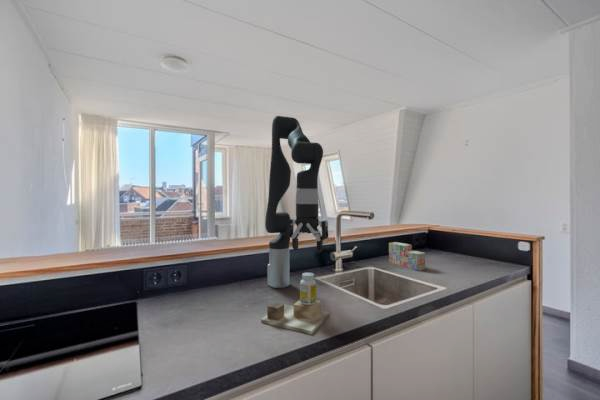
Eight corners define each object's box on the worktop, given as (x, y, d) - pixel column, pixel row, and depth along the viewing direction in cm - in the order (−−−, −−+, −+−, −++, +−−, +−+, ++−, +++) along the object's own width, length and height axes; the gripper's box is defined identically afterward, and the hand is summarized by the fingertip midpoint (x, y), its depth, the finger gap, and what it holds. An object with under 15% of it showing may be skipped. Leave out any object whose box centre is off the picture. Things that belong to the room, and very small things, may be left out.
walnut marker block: (267, 318, 91) (267, 306, 91) (273, 313, 94) (273, 301, 94) (277, 320, 89) (277, 308, 89) (284, 315, 93) (284, 303, 93)
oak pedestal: (293, 316, 92) (293, 304, 92) (302, 308, 98) (302, 297, 98) (312, 320, 89) (312, 308, 89) (321, 312, 95) (321, 300, 95)
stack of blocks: (425, 269, 153) (425, 247, 152) (417, 271, 150) (417, 248, 150) (396, 261, 172) (396, 241, 172) (388, 262, 169) (388, 242, 169)
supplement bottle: (300, 305, 91) (300, 276, 91) (299, 299, 96) (299, 272, 96) (317, 305, 91) (317, 276, 91) (314, 299, 97) (314, 271, 96)
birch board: (260, 322, 90) (260, 319, 90) (282, 306, 103) (282, 304, 103) (311, 334, 82) (311, 331, 82) (328, 315, 95) (328, 313, 95)
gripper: (331, 202, 93) (331, 250, 93) (293, 201, 99) (293, 247, 100) (322, 203, 86) (322, 255, 87) (282, 202, 93) (283, 251, 93)
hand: (307, 250), depth 93 cm, fingers open, 8 cm apart
